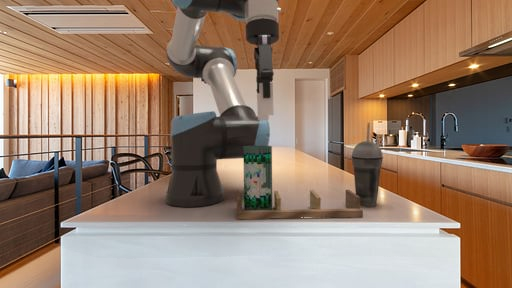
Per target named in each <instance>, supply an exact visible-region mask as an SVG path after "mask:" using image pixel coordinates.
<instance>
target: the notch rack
mask: <svg viewBox="0 0 512 288" xmlns="http://www.w3.org/2000/svg"><path fill="white" fill-rule="evenodd" d="M273 196H274V197H273V199H274V203H273V205H274V207H273V208H274V209H272V210H244V209H243V193H242V191H241V190H240V191H238V192H237V196H236V220H237V219H249V220H269V219H268V218H301V217H303V218H304V217H316V218H315V219H326V218H325V217H364V216H363V215H364V210H363V209H362V208H361V206H360V197H359V196H358V195H356V192H353V191H352V190H350V189H345V207H346V208H322V207H321V206H322V205H321V197H320V195H319V194H318V193H317V191H315V190H314V189H311V190H310V189H309V207H310V208H309V209H305V208H304V209H300V208H299V209H282V207H281V206H282V205H281V203H282V201H281V199H282V198H281V196H280V193H279V190H273ZM317 217H318V218H317ZM319 217H320V218H319ZM323 217H324V218H323Z"/></svg>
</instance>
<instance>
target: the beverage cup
mask: <svg viewBox="0 0 512 288" xmlns="http://www.w3.org/2000/svg"><path fill="white" fill-rule="evenodd" d="M370 125H371V124H370V122H367V128H366V141H364V140H363V141H361V142H359V143H358V144H356V145H355V146H354V148H353V150H352V154H351V161H352V167H353V175H354V176H353V177H354V187H355V188H354V189H355V194H356V195H358V196H359V197H360V207H366V208H367V207H368V208H372V207H376V206H377V201H378V197H379V196H378V195H379V185H380V178H381V175H380V174H381V167H382V166H383V165H382V164H383V159H384V157H383V151H382V149H381V147H380V146H379V145H378V144H377V143H376V142H374V141H370Z"/></svg>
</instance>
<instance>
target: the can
mask: <svg viewBox="0 0 512 288" xmlns="http://www.w3.org/2000/svg"><path fill="white" fill-rule="evenodd" d="M243 154H244V158H243V203H244V204H243V207H244V208H243V210H273V146H272V145H268V146H244V147H243Z"/></svg>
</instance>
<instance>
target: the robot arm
mask: <svg viewBox="0 0 512 288" xmlns="http://www.w3.org/2000/svg"><path fill="white" fill-rule="evenodd" d="M171 3H172V6H174V7H176V13H175V18H174V24H173V30H172V34H171V35H172V36H171V39H170V40H169V41H168V43H167V44H166V45H167V46H166V49H165V50H166V51H165V53H166V54H165V55H166V59H167V62H168V64H169V65H170V67H172V69H173V70H174V71H175V72H177V73H178V74H179V75H181V76H183V77H186V78H192V79H203V81H204V82H205V84H206V85H208V86H210V90H211V92H212V95H213V98H214V101H215V105H216V107H217V110H218V113H219V116H217V113H216V112H215V111H203V112H197V113H195V112H194V113H187V114H180V115H176V116H175V117H173V118H172V119H171V123H170V137H171V138H170V139H171V141H170V142H171V175H170V177H169V178H170V179H169V182H168V187H167V190H166V192H165V203H166V204H168V205H169V206H173V207H181V208H183V207H184V208H190V207H191V208H192V207H193V208H194V207H205V206H211V205H215V204H218V203H221V202H222V201H224V199H225V195H224V194H225V193H224V188H223V185H222V182H221V179H220V176H219V173H218V170H217V169H218V167H217V166H218V165H217V164H218V163H217V161H218V160H231V159H232V160H233V159H244V154H243V147H244V146H270V145H269V144H270V136H271V133H270V132H271V130H270V129H271V128H270V123H269V122H270V121H269V120H270V119H269V118H270V117H269V116H274V114H275V113H274V89H273V87H274V85H273V80H274V75H275V74H274V73H275V72H274V69H273V47H272V45H273V44H275V43H277V42H278V41H279V39H280V24H279V23H278V22H279V13H281V12H282V9H281V8H280V7H279V0H171ZM208 12H212V13H222V14H229V15H230V17H231V18H233V19H235V20H236V21H238V22H245V41H246V42H247V43H248V44H251V45H255V46H256V47H254V51H253V55H254V56H253V58H254V64H255V65H254V66H255V70H256V100H257V101H256V104H257V105H256V106H257V108H256V109H257V115H256V112H255V111H254V109H253V108H252V107H250V106H249V105H247V104H246V103H245V99H244V98H243V96H242V94H241V91H240V88H239V86H238V84H237V82H236V80H235V77H236V74H237V70H238V62H237V57H236V53H235V52H234V51H233V50H232V49H231V48H229V47H224V46H219V47H218V46H206V45H198V44H197V43H198V39H199V36H200V33H201V30H202V28H203V25H204V22H205V19H206V16H207V14H208Z"/></svg>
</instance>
